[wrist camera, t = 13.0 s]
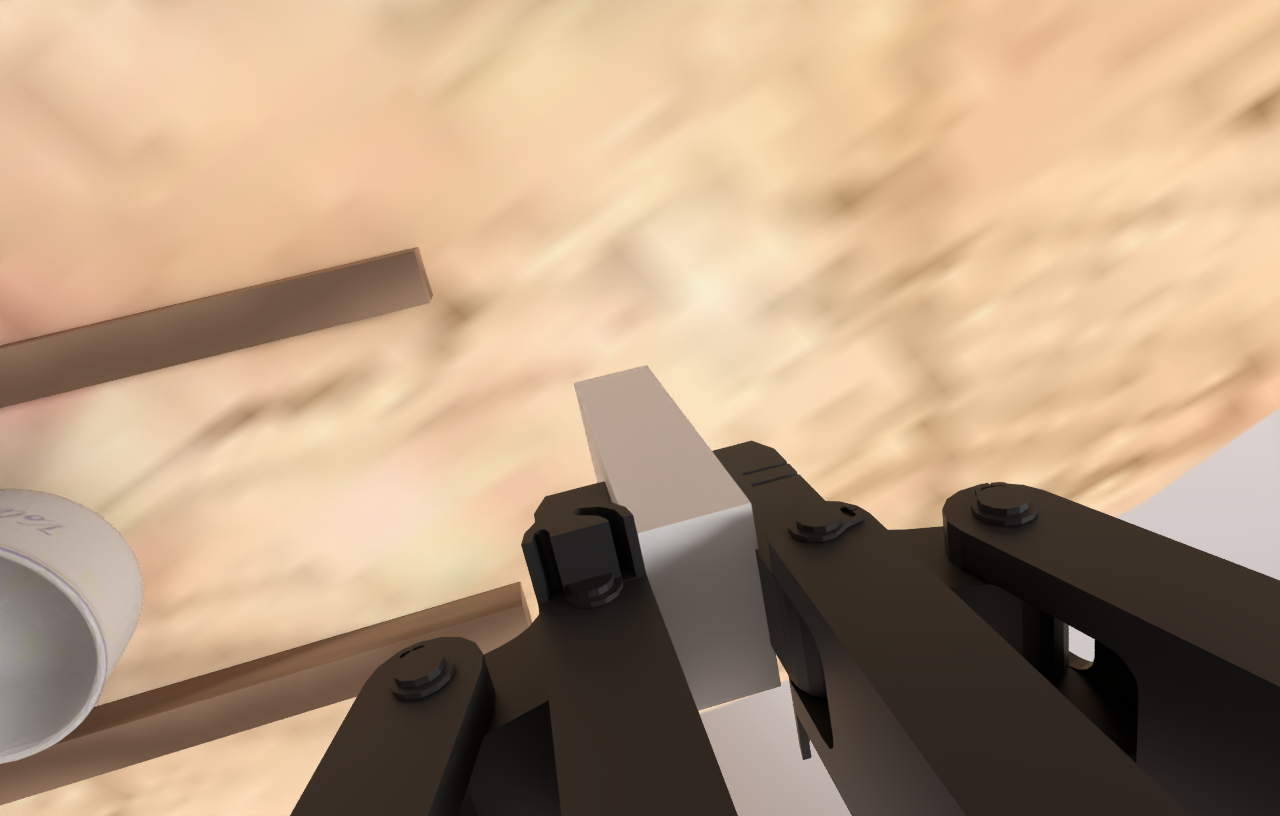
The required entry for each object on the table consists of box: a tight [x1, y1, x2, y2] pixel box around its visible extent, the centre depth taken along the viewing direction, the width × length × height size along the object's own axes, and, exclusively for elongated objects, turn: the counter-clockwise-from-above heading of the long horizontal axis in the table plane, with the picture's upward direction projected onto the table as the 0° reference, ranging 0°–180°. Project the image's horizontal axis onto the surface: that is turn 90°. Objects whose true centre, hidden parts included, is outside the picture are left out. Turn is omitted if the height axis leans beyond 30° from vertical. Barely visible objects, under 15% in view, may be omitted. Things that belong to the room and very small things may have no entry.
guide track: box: [0, 247, 532, 805], centre depth 36 cm, size 22×32×5 cm
